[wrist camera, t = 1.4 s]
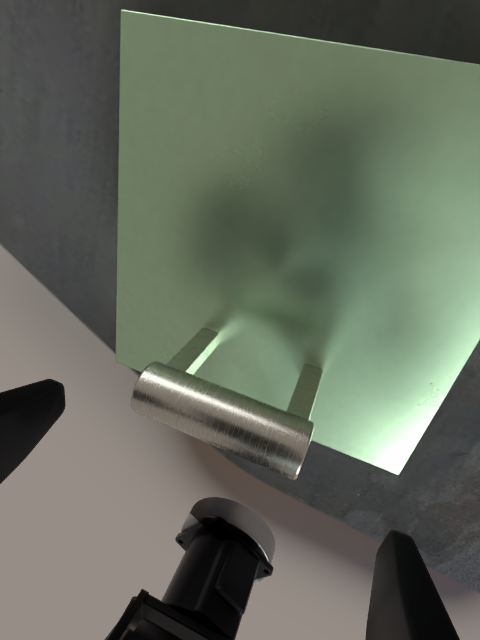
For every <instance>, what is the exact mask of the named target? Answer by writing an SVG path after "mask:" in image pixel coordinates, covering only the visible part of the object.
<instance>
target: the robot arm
mask: <svg viewBox="0 0 480 640" xmlns="http://www.w3.org/2000/svg"><path fill="white" fill-rule="evenodd" d="M64 409H65V392H64V386H63V384H62V383H59V382H57V381H55V380H52V379H46V380H43V381H39V382H36V383H32V384H29V385H25V386H22V387H19V388H15V389H12V390H8V391H5V392H1V393H0V484H1V483H2V481H4V480H5V478H7V477H8V476H9V475H10V474H11V473H12V472H13V471H14V470H15V468H17V466H19V464H20V463H21V462H22V461H23V460H24V459H25V458H26V457H27V456H28V455H29V453H30V452H31V451H32V450H33V449H34V447H35V446H36V445H37V444H38V443H39V441H40V440H41V439H42V438H43V436H44V435H45V434H46V433H47V432H48V430H49V429H50V428H51V427H52V425H53V424H54V423H55V422H56V421H57V419H58V418H59V417H60V416H61V414H62V413H63V411H64ZM176 542H177V543H178V544H179V545H180V546H181V547H182V548H183V549H184V550H185V551H186V552H185V554H184V556H183V558H182V560H181V562H180V564H179V566H178V568H177V570H176V572H175V574H174V576H173V578H172V580H171V582H170V584H169V586H168V588H167V590H166V593H165V595H164V597H163V599H162V601H160V600H158V599H157V598H155V597H153V596H151V595H149V592H147V591H145V590H144V589H142V590H141V592H140V593H139V595H138V596H137V597H133V598H132V599H131V601H130V603H129V605H128V607H127V608H126V610H125V612H124V614H123V615H122V617H121V619H120V620H119V622H118V623H117V625H116V626H115V627H114V628H113V630H112V631H111V632H110V633H109V635H108V636H107V637H106V639H105V640H235V638H236V634H237V631H238V628H239V625H240V621H241V618H242V615H243V614H244V612H245V610H246V606H247V603H248V600H249V597H250V593H251V590H252V587H253V583H254V580H257V579H260V578H264V577H268V576H271V575H272V573H273V567H272V565H271V564H270V563H269V562H268V561H267V560H266V559H265V558H264V557H263V556H262V555H261V554H260V553H259V552H258V551H257V550H256V549H255V548H254V547H252V546H251V545H250V544H249V543H248V542H247V541H246V540H245V539H244V538H243V537H242V536H241V535H240V534H239V533H238V532H237V531H236V530H235V529H234V528H233V527H232V526H231V525H230V524H229V523H228V522H227V521H226V520H225V519H224V518H222V517H220V516H217V517H214V518H212V519H210V520H208V521H206V522H203V523H201V524H199V525H197V526H194V527H192V528H190V529H188V530H186V531H183V532H181V533H179V534H178V535H177V537H176ZM366 640H460V639H459V637H458V635H457V633H456V630H455V628H454V626H453V624H452V622H451V620H450V617H449V615H448V613H447V611H446V609H445V607H444V605H443V602H442V600H441V598H440V596H439V594H438V592H437V590H436V588H435V585H434V583H433V581H432V579H431V577H430V574H429V572H428V570H427V568H426V566H425V564H424V562H423V559H422V557H421V555H420V553H419V551H418V549H417V546H416V544H415V542H414V540H413V539H412V537H411V536H409V535H407V534H405V533H403V532H400V531H398V530H395V529H393V530H391V531H390V532H389V534H388V535H387V537H386V538H385V540H384V541H383V543H382V544H381V546H380V547H379V549H378V552H377V555H376V561H375V569H374V576H373V583H372V590H371V598H370V605H369V613H368V620H367V629H366Z"/></svg>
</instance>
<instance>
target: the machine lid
mask: <svg viewBox="0 0 480 640" xmlns="http://www.w3.org/2000/svg"><path fill="white" fill-rule="evenodd" d="M479 340H480V64H475V63H469V62H462V61H456V60H449V59H443V58H436V57H430V56H423V55H417V54H410V53H404V52H397V51H391V50H384V49H378V48H371V47H365V46H358V45H352V44H345V43H339V42H332V41H326V40H319V39H313V38H306V37H300V36H293V35H287V34H280V33H274V32H267V31H261V30H254V29H248V28H241V27H235V26H228V25H222V24H215V23H209V22H202V21H196V20H189V19H183V18H176V17H170V16H163V15H157V14H150V13H144V12H137V11H131V10H124V9H122V10H121V22H120V93H119V164H118V235H117V305H116V362H117V363H120V364H123V365H125V366H127V367H130V368H132V369H135V370H137V371H140V372H142V373H141V375H140V376H139V378H138V380H137V382H136V384H135V387H134V390H133V393H132V399H131V406H132V409H133V410H134V411H135V412H137V413H139V414H142V415H144V416H146V417H149V418H151V419H153V420H156V421H158V422H160V423H163V424H165V425H167V426H170V427H172V428H174V429H177V430H179V431H182V432H184V433H186V434H188V435H191V436H193V437H195V438H198V439H200V440H202V441H205V442H207V443H209V444H212V445H214V446H216V447H219V448H221V449H223V450H226V451H228V452H230V453H232V454H235V455H237V456H239V457H242V458H244V459H246V460H249V461H251V462H253V463H256V464H258V465H260V466H263V467H265V468H267V469H270V470H272V471H274V472H277V473H279V474H281V475H284V476H286V477H288V478H291V479H293V480H296V479H297V478H298V476H299V474H300V471H301V469H302V466H303V463H304V460H305V458H306V455H307V451H308V448H309V445H310V442H311V440H312V441H314V442H317V443H319V444H322V445H324V446H327V447H329V448H332V449H334V450H337V451H339V452H342V453H344V454H347V455H349V456H352V457H354V458H357V459H359V460H362V461H364V462H367V463H369V464H372V465H374V466H377V467H379V468H382V469H384V470H387V471H389V472H392V473H394V474H397V475H399V474H400V472H401V470H402V469H403V467H404V465H405V464H406V462H407V460H408V459H409V457H410V455H411V454H412V452H413V450H414V449H415V447H416V445H417V444H418V442H419V440H420V439H421V437H422V435H423V434H424V432H425V430H426V429H427V427H428V425H429V424H430V422H431V420H432V419H433V417H434V415H435V414H436V412H437V410H438V409H439V407H440V405H441V404H442V402H443V400H444V399H445V397H446V395H447V394H448V392H449V390H450V389H451V387H452V385H453V384H454V382H455V380H456V379H457V377H458V375H459V374H460V372H461V370H462V369H463V367H464V365H465V364H466V362H467V360H468V358H469V357H470V355H471V353H472V352H473V350H474V348H475V347H476V345H477V343H478V342H479Z"/></svg>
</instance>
